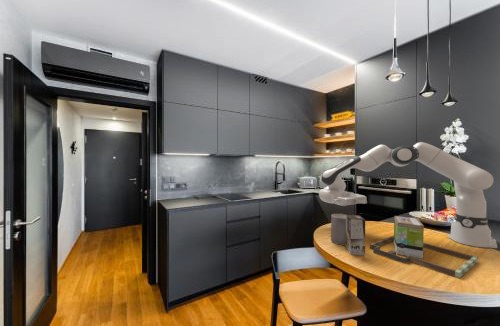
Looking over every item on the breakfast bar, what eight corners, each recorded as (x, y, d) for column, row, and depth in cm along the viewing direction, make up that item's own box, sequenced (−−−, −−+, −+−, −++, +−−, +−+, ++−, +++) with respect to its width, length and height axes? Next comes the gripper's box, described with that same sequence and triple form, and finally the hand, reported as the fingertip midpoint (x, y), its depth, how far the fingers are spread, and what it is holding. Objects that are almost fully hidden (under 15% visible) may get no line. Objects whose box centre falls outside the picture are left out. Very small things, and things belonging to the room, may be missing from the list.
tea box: (424, 259, 94) (424, 225, 94) (396, 254, 99) (396, 222, 99) (417, 247, 108) (417, 217, 108) (393, 243, 112) (393, 215, 112)
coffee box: (365, 255, 98) (365, 219, 98) (350, 254, 99) (350, 219, 99) (359, 248, 107) (359, 214, 106) (345, 246, 108) (345, 214, 108)
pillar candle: (338, 237, 121) (338, 210, 121) (354, 242, 113) (355, 213, 113) (327, 240, 116) (327, 212, 116) (343, 246, 108) (344, 216, 108)
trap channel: (393, 238, 120) (393, 235, 120) (477, 261, 92) (477, 257, 92) (365, 249, 104) (365, 245, 104) (456, 281, 77) (456, 275, 77)
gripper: (332, 194, 126) (354, 197, 115) (352, 191, 137) (375, 195, 126) (331, 205, 126) (354, 209, 115) (352, 202, 137) (375, 205, 126)
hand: (365, 202), depth 120 cm, fingers closed
